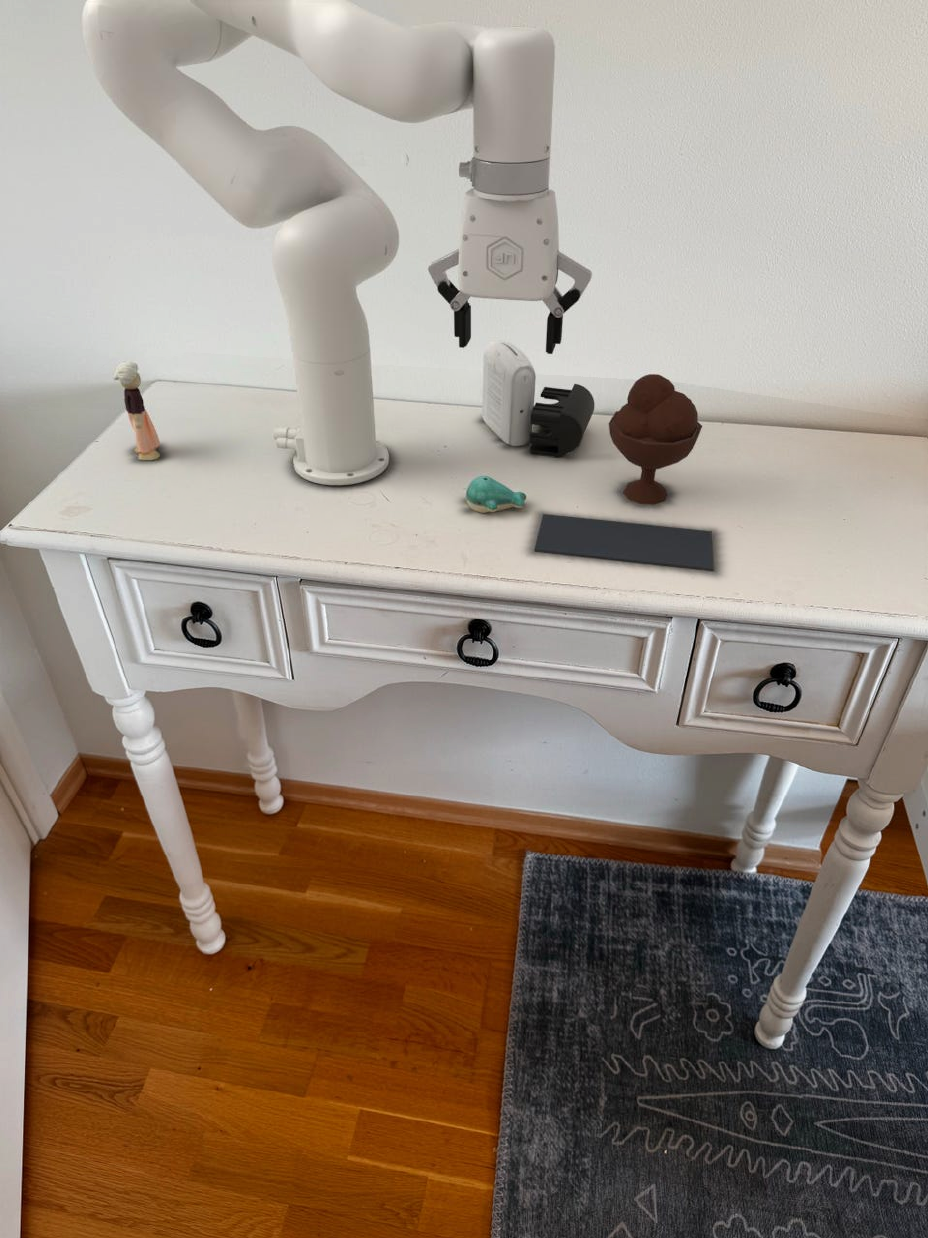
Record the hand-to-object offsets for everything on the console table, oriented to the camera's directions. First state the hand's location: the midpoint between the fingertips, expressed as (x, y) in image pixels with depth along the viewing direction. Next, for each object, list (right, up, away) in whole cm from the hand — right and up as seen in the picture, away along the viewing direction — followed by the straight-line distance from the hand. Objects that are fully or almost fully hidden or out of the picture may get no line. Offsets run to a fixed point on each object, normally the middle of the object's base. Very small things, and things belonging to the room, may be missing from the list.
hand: (507, 346), depth 98 cm
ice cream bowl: (+18, -14, +14) cm, 27 cm away
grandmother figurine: (-48, -8, +23) cm, 54 cm away
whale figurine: (-1, -16, +11) cm, 20 cm away
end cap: (+9, -6, +25) cm, 27 cm away
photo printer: (+1, -4, +28) cm, 28 cm away
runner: (+14, -21, +5) cm, 26 cm away
